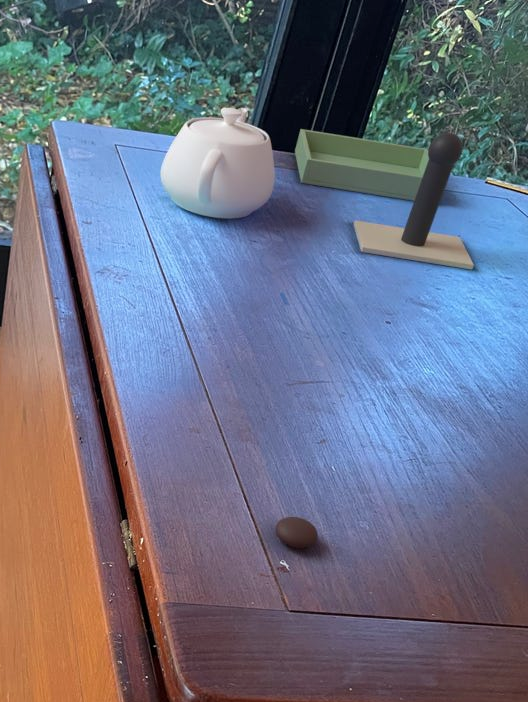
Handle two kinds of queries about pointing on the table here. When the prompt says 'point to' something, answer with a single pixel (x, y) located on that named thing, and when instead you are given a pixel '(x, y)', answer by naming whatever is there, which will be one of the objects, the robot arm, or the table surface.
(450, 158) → the joystick
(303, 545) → the chocolate truffle
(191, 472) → the table surface
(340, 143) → the tray
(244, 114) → the teapot
